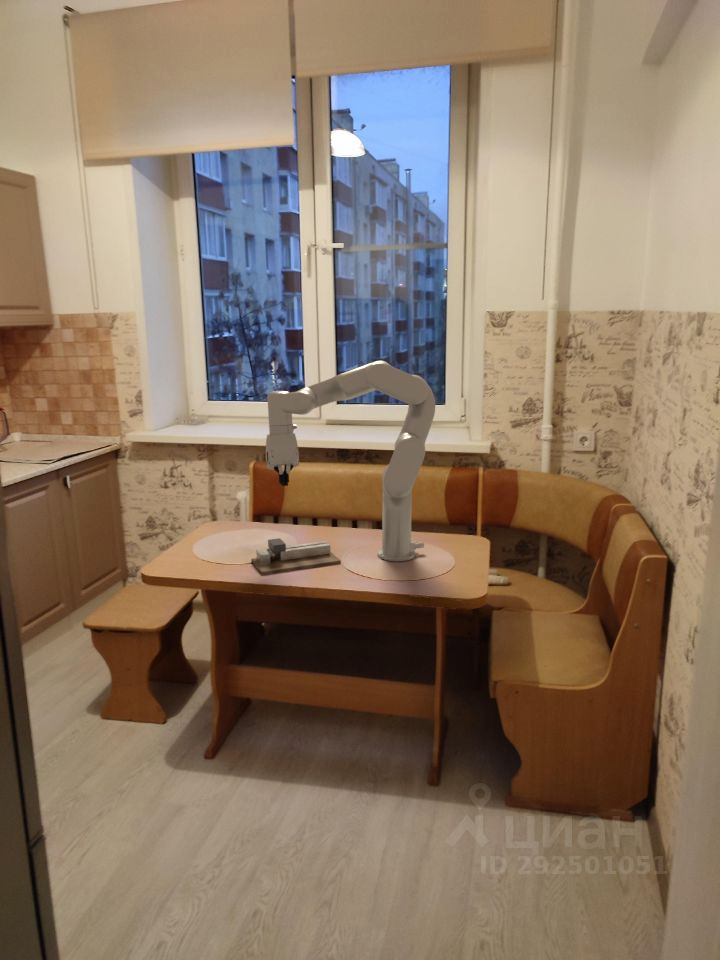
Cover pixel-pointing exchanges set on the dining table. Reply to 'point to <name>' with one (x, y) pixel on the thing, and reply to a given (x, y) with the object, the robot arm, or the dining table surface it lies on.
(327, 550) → the grey rectangular bar
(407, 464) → the robot arm
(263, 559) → the tongs frame
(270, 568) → the cutting board
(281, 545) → the lock slider
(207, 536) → the dining table surface
